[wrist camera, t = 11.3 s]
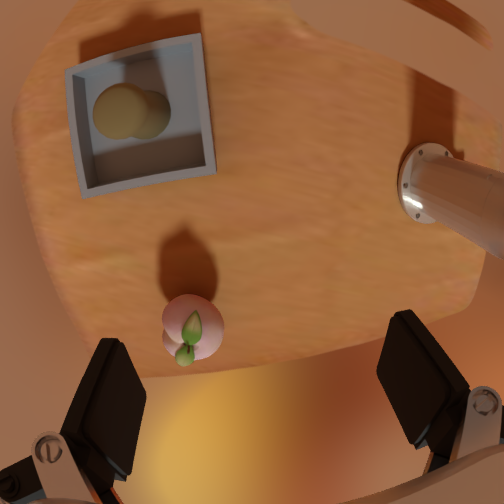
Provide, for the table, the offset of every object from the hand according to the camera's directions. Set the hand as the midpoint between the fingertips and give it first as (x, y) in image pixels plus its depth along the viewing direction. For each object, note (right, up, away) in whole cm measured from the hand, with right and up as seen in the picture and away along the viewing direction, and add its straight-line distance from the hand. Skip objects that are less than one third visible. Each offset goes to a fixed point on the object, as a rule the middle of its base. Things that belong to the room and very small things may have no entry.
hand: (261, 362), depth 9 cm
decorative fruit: (-9, -4, +32) cm, 34 cm away
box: (-13, +20, +21) cm, 32 cm away
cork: (-13, +20, +20) cm, 31 cm away
